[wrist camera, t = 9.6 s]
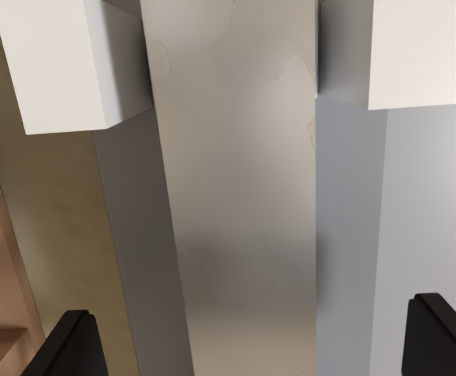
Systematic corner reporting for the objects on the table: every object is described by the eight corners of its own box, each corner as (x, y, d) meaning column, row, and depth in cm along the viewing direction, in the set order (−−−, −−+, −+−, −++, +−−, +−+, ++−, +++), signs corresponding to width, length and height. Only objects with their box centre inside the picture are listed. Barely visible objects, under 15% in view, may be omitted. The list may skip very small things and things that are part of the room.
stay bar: (164, -26, 9) (129, -70, 6) (288, -38, 8) (314, -91, 6) (230, 510, 15) (229, 612, 12) (301, 508, 15) (317, 611, 12)
